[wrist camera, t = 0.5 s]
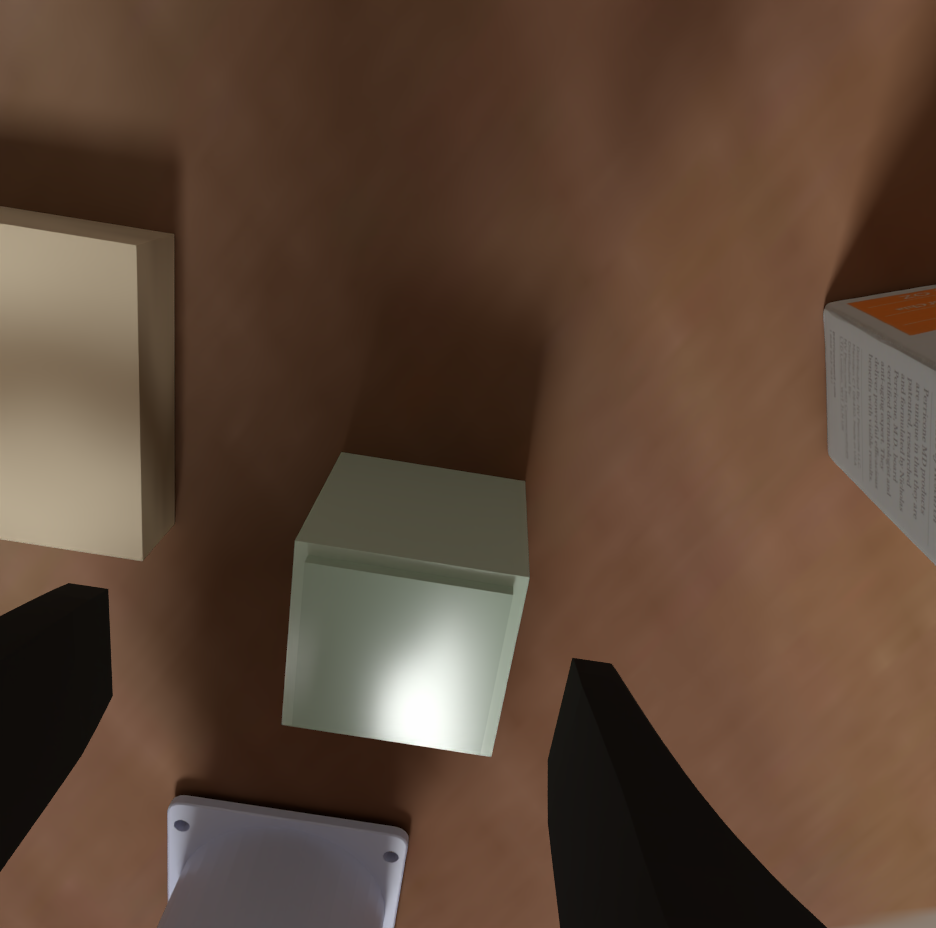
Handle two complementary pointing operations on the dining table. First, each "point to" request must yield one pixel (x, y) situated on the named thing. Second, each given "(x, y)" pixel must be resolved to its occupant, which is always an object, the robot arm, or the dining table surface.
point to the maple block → (86, 384)
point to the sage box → (406, 604)
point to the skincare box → (886, 403)
